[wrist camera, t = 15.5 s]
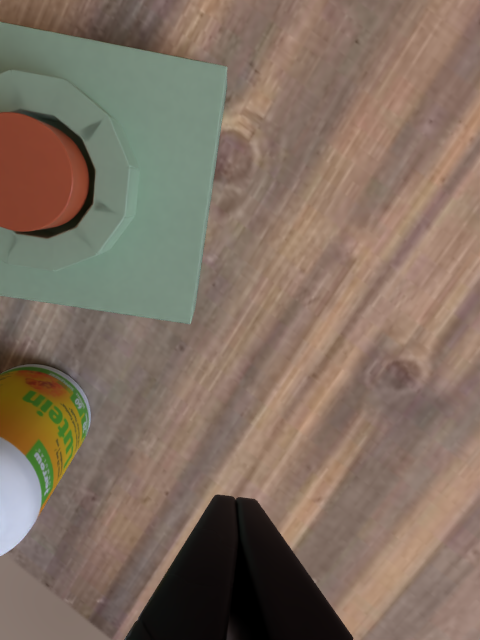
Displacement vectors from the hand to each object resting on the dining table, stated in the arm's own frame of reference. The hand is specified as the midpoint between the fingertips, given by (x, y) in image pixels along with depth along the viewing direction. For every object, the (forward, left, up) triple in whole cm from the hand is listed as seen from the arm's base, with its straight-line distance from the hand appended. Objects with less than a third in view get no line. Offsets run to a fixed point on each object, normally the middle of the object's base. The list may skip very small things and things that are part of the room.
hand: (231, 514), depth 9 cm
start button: (+6, +8, -9) cm, 13 cm away
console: (+6, +8, -13) cm, 16 cm away
